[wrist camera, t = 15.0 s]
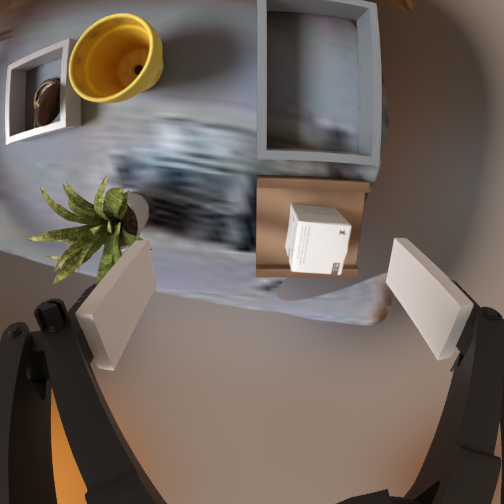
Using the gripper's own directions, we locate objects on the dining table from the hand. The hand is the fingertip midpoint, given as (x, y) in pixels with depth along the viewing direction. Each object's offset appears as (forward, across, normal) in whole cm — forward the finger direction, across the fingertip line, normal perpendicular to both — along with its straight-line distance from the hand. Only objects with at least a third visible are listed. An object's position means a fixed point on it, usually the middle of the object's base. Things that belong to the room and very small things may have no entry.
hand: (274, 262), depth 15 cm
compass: (+24, -31, +14) cm, 42 cm away
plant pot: (+24, -15, +16) cm, 33 cm away
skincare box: (+22, +6, -6) cm, 24 cm away
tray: (+23, +6, -6) cm, 25 cm away
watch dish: (+24, -31, +16) cm, 43 cm away
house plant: (+24, -18, -2) cm, 30 cm away
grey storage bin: (+24, +7, +13) cm, 28 cm away
